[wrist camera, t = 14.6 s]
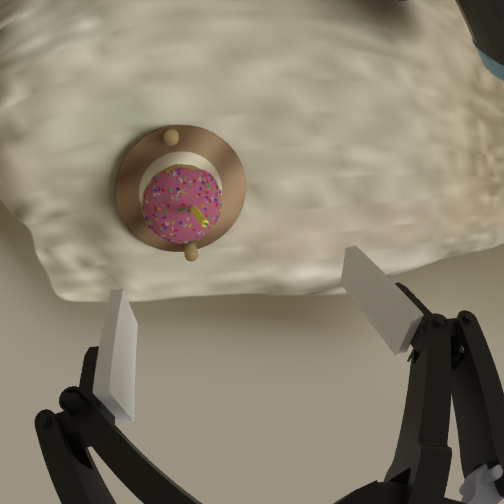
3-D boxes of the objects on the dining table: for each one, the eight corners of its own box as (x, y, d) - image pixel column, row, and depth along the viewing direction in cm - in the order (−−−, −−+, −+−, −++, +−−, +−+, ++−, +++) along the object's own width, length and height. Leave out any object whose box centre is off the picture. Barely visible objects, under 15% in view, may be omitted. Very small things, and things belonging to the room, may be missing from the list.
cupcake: (200, 145, 30) (214, 167, 20) (226, 207, 35) (251, 255, 25) (133, 177, 30) (114, 216, 20) (164, 236, 35) (164, 294, 25)
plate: (92, 185, 30) (82, 196, 26) (193, 98, 29) (195, 97, 25) (173, 267, 39) (174, 286, 35) (266, 196, 37) (277, 208, 33)
